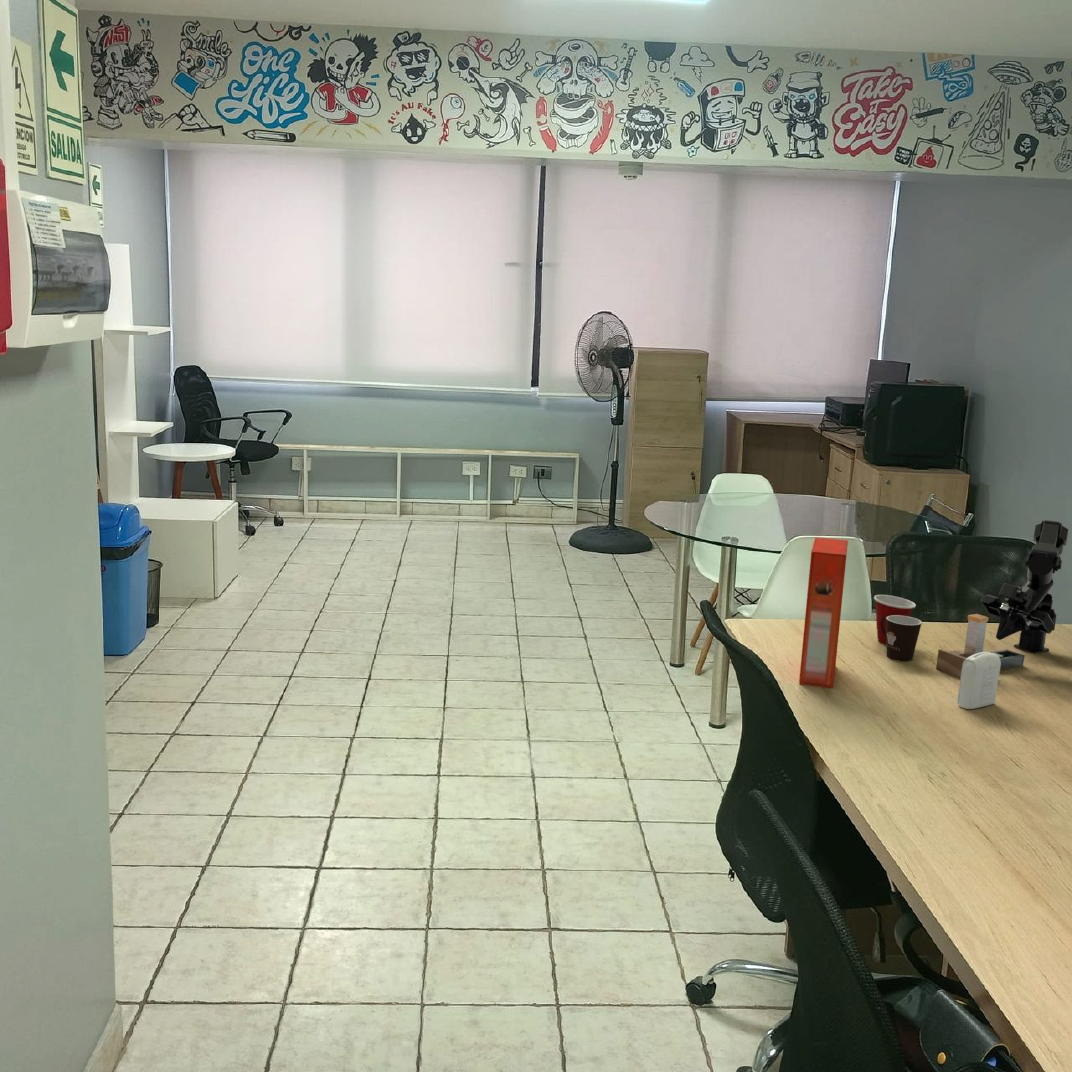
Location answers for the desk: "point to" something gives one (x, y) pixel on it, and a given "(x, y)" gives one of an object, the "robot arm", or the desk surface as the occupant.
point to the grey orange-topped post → (976, 635)
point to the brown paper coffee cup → (901, 636)
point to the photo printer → (979, 680)
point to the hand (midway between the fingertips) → (997, 638)
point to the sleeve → (1010, 659)
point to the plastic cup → (890, 611)
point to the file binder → (823, 612)
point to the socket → (950, 661)
